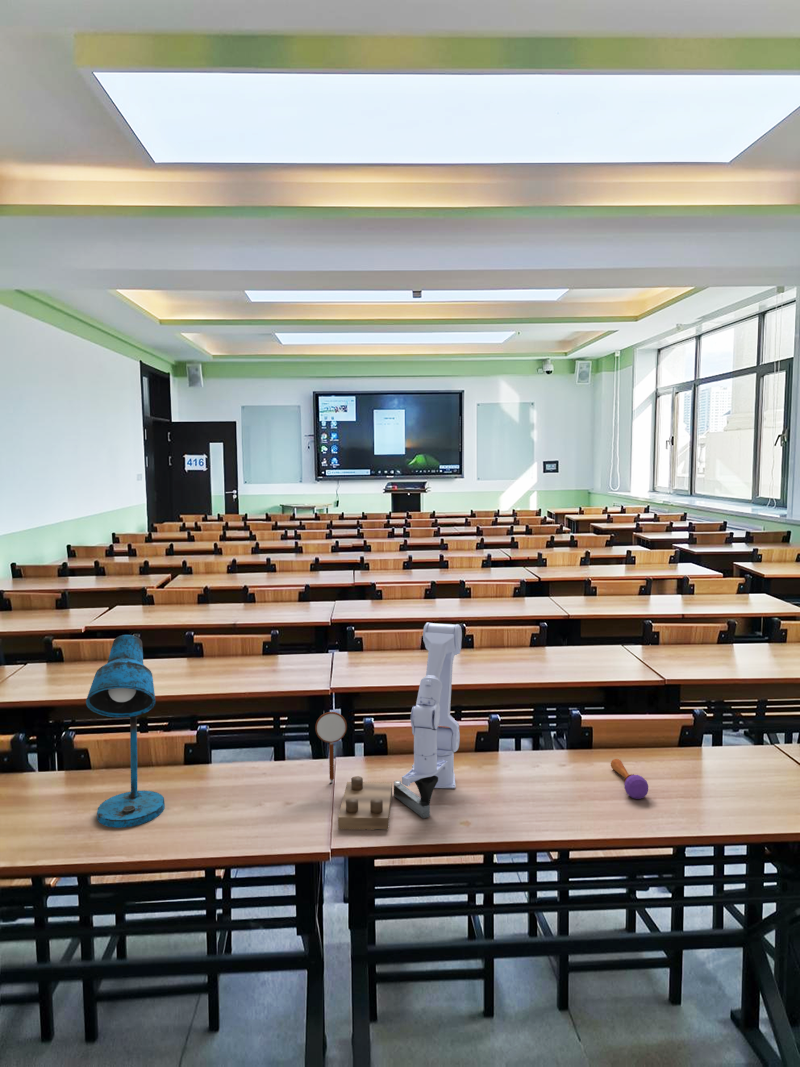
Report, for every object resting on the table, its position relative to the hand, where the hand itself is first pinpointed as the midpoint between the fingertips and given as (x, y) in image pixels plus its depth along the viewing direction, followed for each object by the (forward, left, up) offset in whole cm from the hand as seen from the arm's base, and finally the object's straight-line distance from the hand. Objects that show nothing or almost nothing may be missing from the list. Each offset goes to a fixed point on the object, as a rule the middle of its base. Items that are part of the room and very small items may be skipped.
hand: (425, 804), depth 175 cm
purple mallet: (-17, +55, -2) cm, 58 cm away
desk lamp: (+4, -74, -2) cm, 74 cm away
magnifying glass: (-16, -26, -2) cm, 30 cm away
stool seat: (0, -15, -2) cm, 15 cm away
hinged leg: (-3, -4, -2) cm, 5 cm away
